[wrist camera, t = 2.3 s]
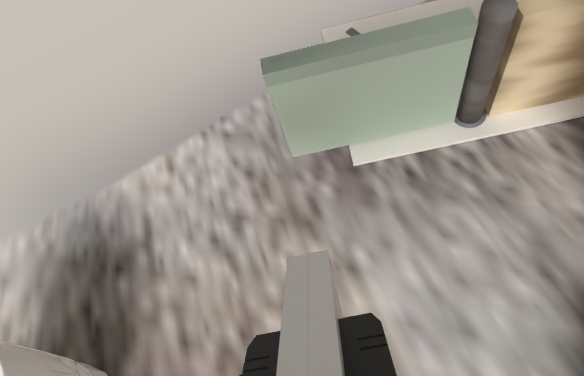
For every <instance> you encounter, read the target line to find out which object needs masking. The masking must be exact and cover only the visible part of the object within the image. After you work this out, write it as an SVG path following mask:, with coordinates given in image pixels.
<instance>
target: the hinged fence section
mask: <svg viewBox="0 0 584 376" xmlns="http://www.w3.org/2000/svg"><path fill="white" fill-rule="evenodd" d="M477 26H478V21H477V19H476V17H475V15H474V13H473V11H472V10H471V8H470V7H467V8H463V9H459V10H455V11H451V12H447V13H443V14H439V15H435V16H431V17H427V18H423V19H419V20H415V21H411V22H407V23H403V24H399V25H395V26H391V27H387V28H383V29H379V30H375V31H371V32H367V33H363V34H359V35H355V36H351V37H347V38H343V39H339V40H335V41H331V42H327V43H323V44H319V45H315V46H311V47H307V48H303V49H299V50H294V51H290V52H286V53H282V54H278V55H275V56H271V57H267V58H262V59H261V67H262V74H263V78H264V80H265V83H266V86H267V88H268V91H269V94H270V96H271V99H272V102H273V105H274V107H275V110H276V113H277V116H278V118H279V121H280V124H281V127H282V129H283V132H284V135H285V138H286V140H287V143H288V146H289V148H290V151H291V154H292V157H297V156H301V155H306V154H311V153H315V152H320V151H324V150H329V149H333V148H338V147H342V146H347V145H351V144H356V143H360V142H365V141H369V140H374V139H378V138H383V137H387V136H392V135H396V134H401V133H406V132H410V131H415V130H419V129H424V128H428V127H433V126H437V125H442V124H446V123H451V122H454V120H455V116H456V112H457V108H458V103H459V99H460V95H461V91H462V87H463V82H464V78H465V74H466V70H467V66H468V62H469V57H470V53H471V49H472V45H473V41H474V37H475V34H476V30H477Z"/></svg>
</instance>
